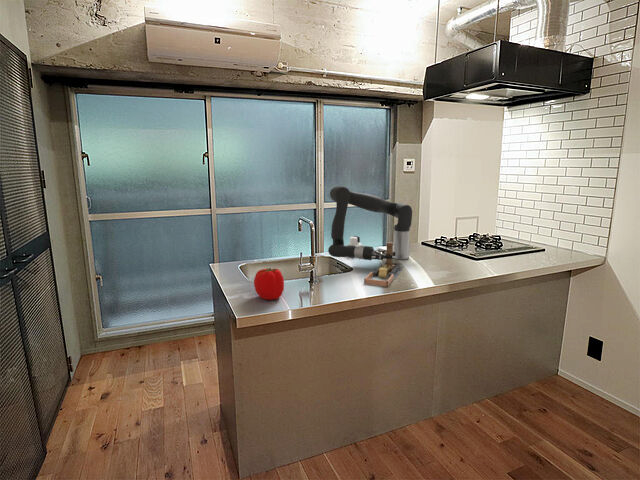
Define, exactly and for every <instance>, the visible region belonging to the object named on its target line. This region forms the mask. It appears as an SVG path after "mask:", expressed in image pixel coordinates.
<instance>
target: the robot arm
mask: <svg viewBox="0 0 640 480" xmlns="http://www.w3.org/2000/svg"><path fill="white" fill-rule="evenodd" d="M329 197H330V198H331V200H332V201H334V202H335V203H336V204H335V205H336V207H335V208H336V210H335V214H334V217H333V219H332V222H331V223H332V224H331V232H330V233H331V234H330V237H331V239H332V244H331V245H329V247H328V248H327V249H328V250H327V252H328V254H329V255H330V256H331V257H334V258H351V259H358V260H363V261H372V260H378V261H379V260H380V261H383V260H386V259H392V258H393V259H395V260H407V259H409V258H410V250H411V249H410V247H411V242H410V229H411V225H412V221H413V209H412V207H411V206H410V205H409V204H405V203H402V202H400V203H399V202H393V201H389V200H386V199H384V198H383V197H380V196H377V195H374V194H370V193H365V192H355V191H351V190H350V189H349V188H348V187H347V186H343V185H342V186H341V185H340V186H339V185H337V186H334V187H333V188H332V189H331V190H330V192H329ZM349 205H351V206H354V207H357V208H360V209H362V210H365V211H369V212H373V213H383V214H387V215H389V216H393V217H395V218H396V219H397V223H396V224H394V227H393V256H392V255H386V254H387V249H382V248H381V249H380V248H377V249H376V250H375V249H374V247H373V246H370V245H369V246H368V245H362V246H354V245H348V244H347V245H345V243H344V242H345V241H344V235H345V234H344V232H345V221H346V216H347V211H348V206H349Z"/></svg>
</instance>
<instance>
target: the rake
mask: <svg viewBox="0 0 640 480" xmlns="http://www.w3.org/2000/svg"><path fill="white" fill-rule="evenodd" d="M393 244H394V241H388V242H386V250H387V254H386V255H392V256H393ZM393 259H394V258H392V259H385V262H386V265H391V271H392V270H393V269H394V267H395V265H392V263H394V262H393ZM391 271H390V272H391Z"/></svg>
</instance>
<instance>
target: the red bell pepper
mask: <svg viewBox="0 0 640 480" xmlns="http://www.w3.org/2000/svg"><path fill="white" fill-rule="evenodd" d="M253 279H254V280H253V286H254V289H255V292H256V294H257V295H258V296H259V297H260V298H261V299H263V300H267V301H269V300H270V301H271V300H273V299H274V300H277V299H280V297H281V296H282V295H283V292H284V290H285V281H284V280H285V279H284V276H283V274H282V272H281V270H280V269H278V268H268V267H267V268H262V269H260V270H258V271H257V272H256V273H255V276H254V278H253Z"/></svg>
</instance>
